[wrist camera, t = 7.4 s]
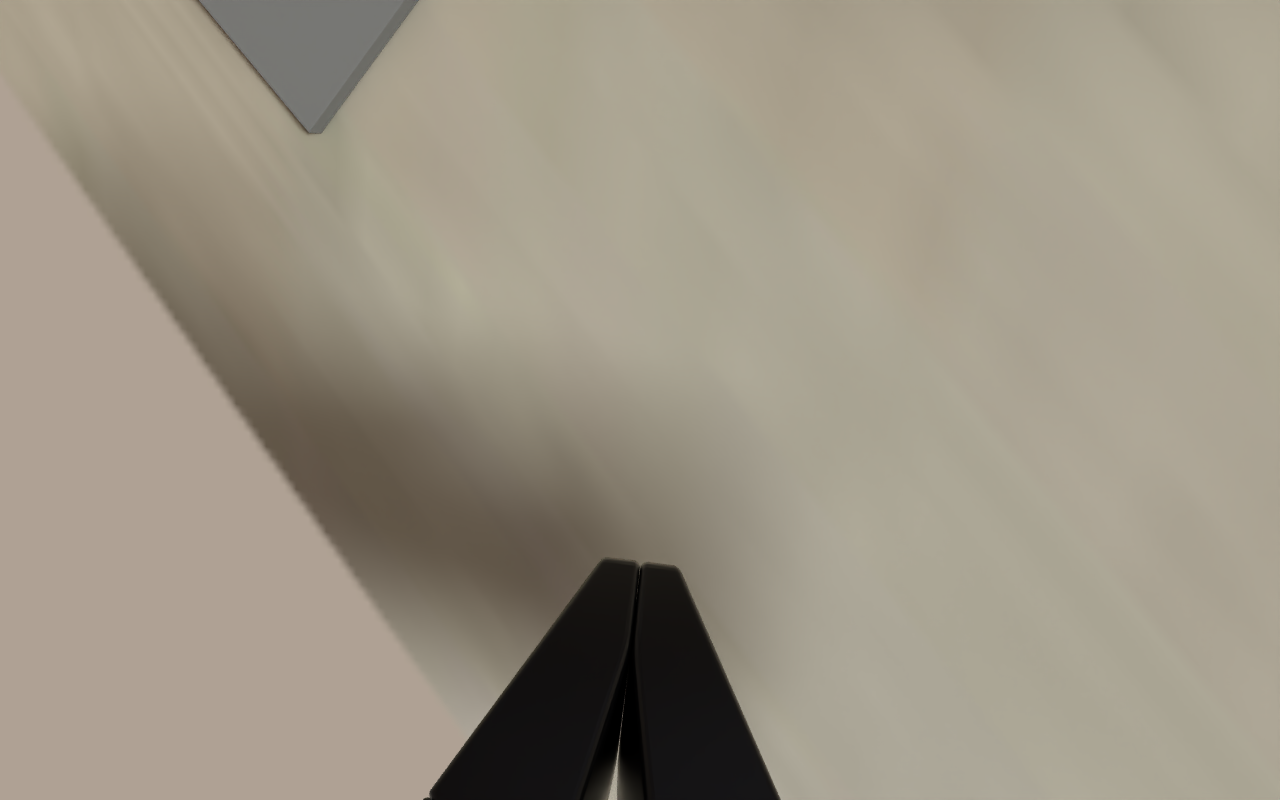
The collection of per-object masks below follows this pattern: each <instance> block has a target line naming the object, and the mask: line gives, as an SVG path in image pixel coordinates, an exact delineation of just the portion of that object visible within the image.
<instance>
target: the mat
mask: <svg viewBox="0 0 1280 800" xmlns="http://www.w3.org/2000/svg"><path fill="white" fill-rule="evenodd" d="M199 1H200V2H201V3H202V5H203V6H204V7H205V8H206V9H207V11H208V12H209V13H210V14H211V15H212V17H213V18H214V19H215V20H216V21H217V23H218V24H219V25H220V26H221V27H222V29H223V30H224V31H225V32H226V34H227V35H228V36H229V37H230V38H231V40H232V41H233V42H234V43H235V44H236V46H237V47H238V48H239V49H240V50H241V52H242V53H243V54H244V55H245V56H246V58H247V59H248V60H249V61H250V62H251V64H252V65H253V66H254V67H255V68H256V70H257V71H258V72H259V73H260V74H261V76H262V77H263V78H264V79H265V80H266V82H267V83H268V84H269V85H270V87H271V88H272V89H273V90H274V91H275V93H276V94H277V95H278V96H279V97H280V99H281V100H282V101H283V102H284V103H285V105H286V106H287V107H288V108H289V109H290V111H291V112H292V113H293V114H294V115H295V117H296V118H297V119H298V120H299V121H300V123H301V124H302V125H303V126H304V127H305V129H306V130H307V131H308V132H309V133H322V131H323V130H324V129H325V127H326V126H327V124H328V123H329V122H330V120H331V119H332V118H333V116H334V115H335V113H336V112H337V111H338V109H339V108H340V107H341V105H342V104H343V103H344V101H345V100H346V98H347V97H348V96H349V94H350V93H351V92H352V90H353V89H354V88H355V86H356V85H357V83H358V82H359V81H360V79H361V78H362V77H363V75H364V74H365V73H366V71H367V70H368V68H369V67H370V66H371V64H372V63H373V62H374V60H375V59H376V57H377V56H378V55H379V53H380V52H381V51H382V49H383V48H384V47H385V45H386V44H387V42H388V41H389V40H390V38H391V37H392V36H393V34H394V33H395V32H396V30H397V29H398V27H399V26H400V25H401V23H402V22H403V21H404V19H405V18H406V17H407V15H408V14H409V12H410V11H411V10H412V8H413V7H414V6H415V4H416V3H417V2H418V0H199Z"/></svg>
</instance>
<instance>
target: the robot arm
mask: <svg viewBox="0 0 1280 800" xmlns="http://www.w3.org/2000/svg"><path fill="white" fill-rule="evenodd" d="M639 570H640V574H639ZM638 580H639V582H638ZM637 589H638V590H637ZM636 598H637V599H636ZM627 674H628V675H627ZM626 682H627V683H626ZM625 690H626V692H625ZM624 698H625V700H624ZM623 707H624V709H623ZM622 715H623V718H622ZM621 723H622V726H621ZM620 731H621V735H620ZM619 739H620V744H619ZM618 746H619V756H618V777H617V800H781V799H780V797H779V795H778V793H777V790H776V788H775V786H774V783H773V781H772V779H771V777H770V774H769V772H768V770H767V767H766V765H765V763H764V760H763V758H762V756H761V754H760V751H759V749H758V747H757V744H756V742H755V740H754V738H753V735H752V733H751V731H750V728H749V726H748V724H747V722H746V719H745V717H744V715H743V712H742V710H741V708H740V705H739V703H738V701H737V699H736V696H735V694H734V692H733V689H732V687H731V685H730V683H729V680H728V678H727V676H726V673H725V671H724V669H723V666H722V664H721V662H720V660H719V657H718V655H717V653H716V650H715V648H714V646H713V644H712V641H711V639H710V637H709V634H708V632H707V630H706V628H705V625H704V623H703V621H702V618H701V616H700V614H699V611H698V609H697V607H696V605H695V602H694V600H693V598H692V595H691V593H690V591H689V589H688V586H687V584H686V582H685V579H684V577H683V575H682V573H681V571H680V570H679V568H677V567H676V566H674V565H666V564H658V563H650V562H646V563H644V564H642V566H641V568H640V566H639V564H638V563H637V562H636V561H633V560H625V559H617V558H604V559H602V560H601V561H600V562H599V563H598V564H597V566H596V567H595V568H594V570H593V571H592V572H591V574H590V575H589V576H588V578H587V579H586V580H585V582H584V583H583V585H582V586H581V587H580V589H579V590H578V591H577V593H576V594H575V595H574V597H573V598H572V599H571V601H570V602H569V603H568V605H567V606H566V608H565V609H564V610H563V612H562V613H561V614H560V616H559V617H558V618H557V620H556V621H555V622H554V624H553V625H552V626H551V628H550V629H549V631H548V632H547V633H546V635H545V636H544V637H543V639H542V640H541V641H540V643H539V644H538V645H537V647H536V648H535V649H534V651H533V652H532V654H531V655H530V656H529V658H528V659H527V660H526V662H525V663H524V664H523V666H522V667H521V668H520V670H519V671H518V672H517V674H516V675H515V677H514V678H513V679H512V681H511V682H510V683H509V685H508V686H507V687H506V689H505V690H504V691H503V693H502V694H501V695H500V697H499V698H498V700H497V701H496V702H495V704H494V705H493V706H492V708H491V709H490V710H489V712H488V713H487V714H486V716H485V717H484V718H483V720H482V721H481V723H480V724H479V725H478V727H477V728H476V729H475V731H474V732H473V733H472V735H471V736H470V737H469V739H468V740H467V741H466V743H465V744H464V746H463V747H462V748H461V750H460V751H459V752H458V754H457V755H456V756H455V758H454V759H453V760H452V762H451V763H450V765H449V766H448V768H447V769H446V770H445V772H444V773H443V774H442V775H441V777H440V778H439V779H438V781H437V782H436V783H435V785H434V786H433V787H432V789H431V790H430V793H429V794H430V798H428V797H427V798H424V799H423V800H608V797H609V793H610V789H611V785H612V780H613V775H614V770H615V766H616V760H617V753H618Z"/></svg>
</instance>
